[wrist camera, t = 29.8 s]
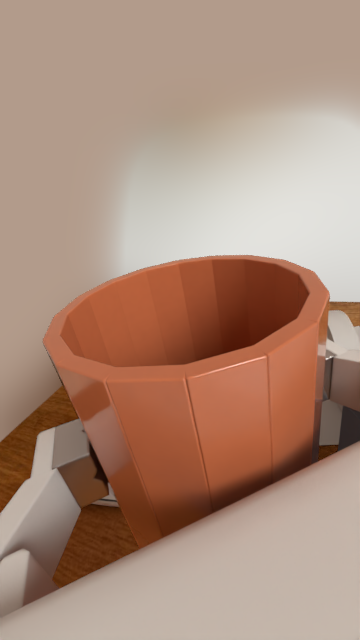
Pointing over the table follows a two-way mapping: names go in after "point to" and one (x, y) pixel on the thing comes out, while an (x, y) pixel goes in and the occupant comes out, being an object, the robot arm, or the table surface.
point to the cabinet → (349, 428)
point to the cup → (195, 382)
